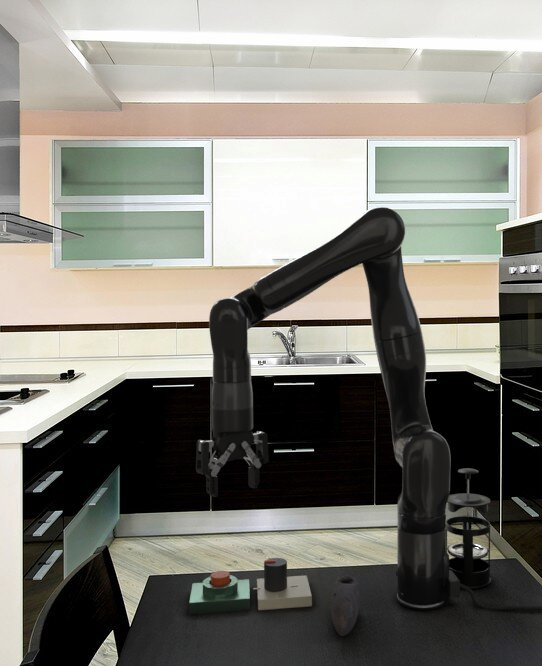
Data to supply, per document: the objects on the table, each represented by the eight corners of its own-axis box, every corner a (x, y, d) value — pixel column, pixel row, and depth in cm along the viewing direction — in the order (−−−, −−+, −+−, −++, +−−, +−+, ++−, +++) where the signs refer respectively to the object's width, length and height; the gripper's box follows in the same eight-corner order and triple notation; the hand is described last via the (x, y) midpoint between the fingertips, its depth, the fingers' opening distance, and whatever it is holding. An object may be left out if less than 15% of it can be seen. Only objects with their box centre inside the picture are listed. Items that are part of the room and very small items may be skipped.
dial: (286, 582, 134) (286, 555, 133) (287, 591, 129) (287, 563, 129) (263, 583, 133) (263, 556, 133) (264, 592, 128) (264, 565, 128)
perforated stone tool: (356, 645, 112) (355, 604, 112) (324, 644, 113) (324, 603, 113) (362, 605, 127) (362, 569, 127) (334, 604, 128) (334, 568, 128)
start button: (230, 578, 131) (229, 570, 131) (229, 586, 128) (229, 577, 128) (211, 580, 131) (211, 571, 131) (210, 587, 127) (210, 578, 127)
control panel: (306, 584, 137) (306, 574, 137) (311, 606, 127) (311, 595, 127) (252, 588, 135) (252, 578, 135) (253, 610, 125) (253, 599, 125)
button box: (249, 590, 135) (249, 570, 134) (249, 610, 126) (249, 588, 126) (192, 594, 133) (192, 574, 133) (189, 614, 124) (188, 593, 124)
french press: (492, 592, 133) (493, 476, 132) (444, 589, 134) (444, 475, 134) (489, 569, 145) (489, 463, 144) (444, 567, 146) (445, 461, 145)
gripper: (208, 411, 118) (209, 503, 119) (275, 403, 128) (276, 488, 128) (187, 407, 124) (189, 494, 124) (253, 399, 133) (255, 481, 134)
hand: (233, 491), depth 126 cm, fingers open, 8 cm apart
